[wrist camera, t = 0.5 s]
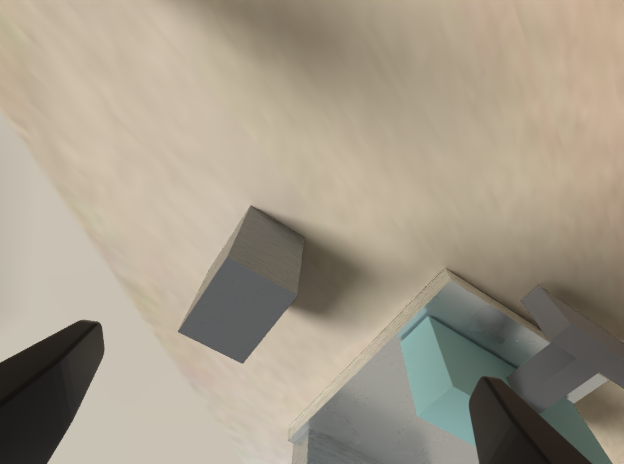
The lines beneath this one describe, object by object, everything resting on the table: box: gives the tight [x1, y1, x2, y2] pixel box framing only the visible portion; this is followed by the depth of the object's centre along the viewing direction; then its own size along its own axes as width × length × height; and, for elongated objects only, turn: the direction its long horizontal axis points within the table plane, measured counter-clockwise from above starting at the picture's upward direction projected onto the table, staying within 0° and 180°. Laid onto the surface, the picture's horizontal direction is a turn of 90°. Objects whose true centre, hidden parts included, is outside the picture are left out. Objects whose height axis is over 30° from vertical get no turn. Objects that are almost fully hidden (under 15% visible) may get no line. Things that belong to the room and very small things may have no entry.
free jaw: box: [400, 285, 624, 464], centre depth 21 cm, size 12×8×5 cm, turn 57°
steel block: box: [178, 206, 304, 364], centre depth 20 cm, size 4×5×6 cm
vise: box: [288, 268, 608, 464], centre depth 24 cm, size 13×17×6 cm
